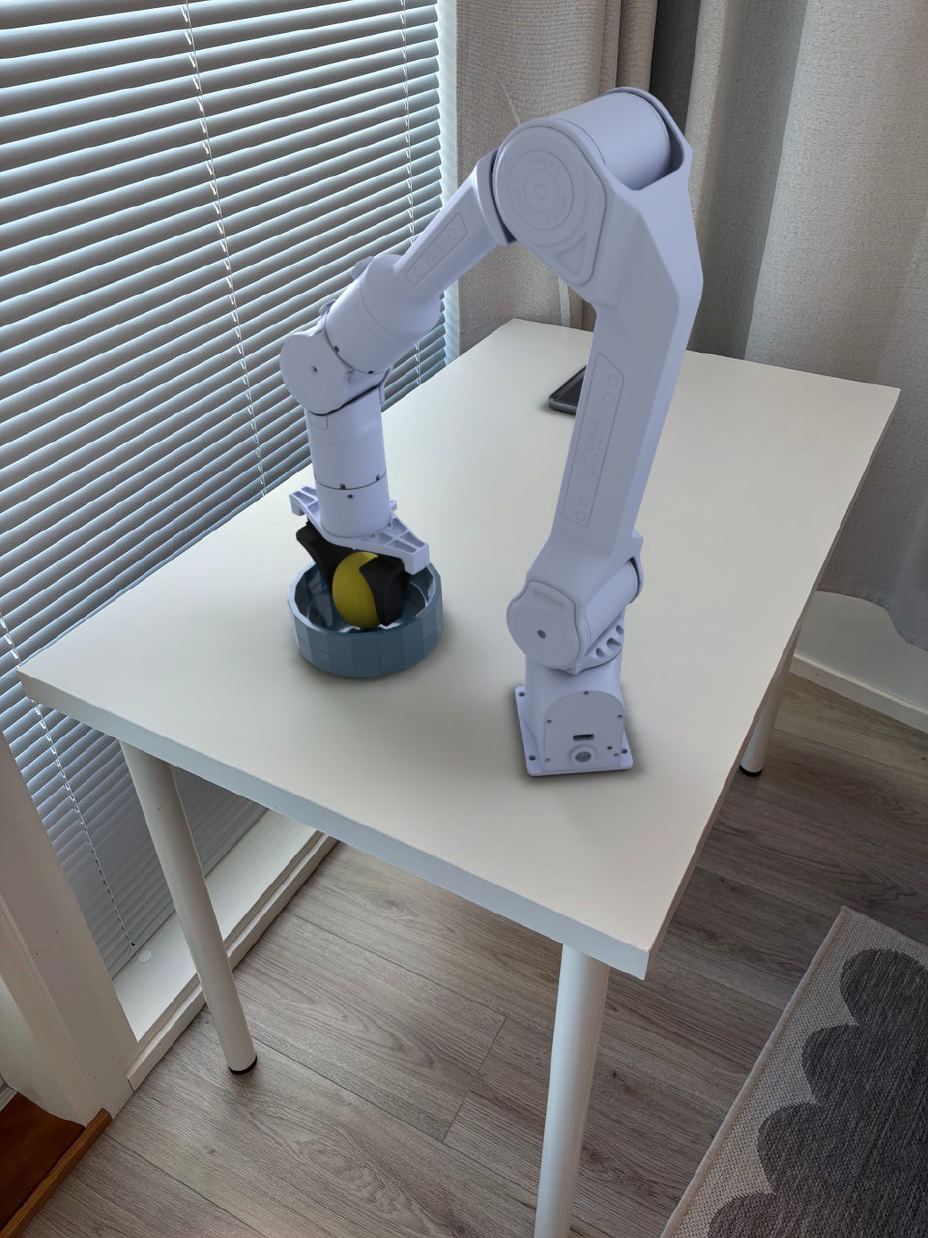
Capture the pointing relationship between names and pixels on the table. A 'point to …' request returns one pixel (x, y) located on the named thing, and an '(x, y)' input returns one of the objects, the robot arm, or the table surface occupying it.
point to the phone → (568, 394)
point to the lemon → (354, 592)
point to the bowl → (364, 649)
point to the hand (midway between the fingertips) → (366, 606)
